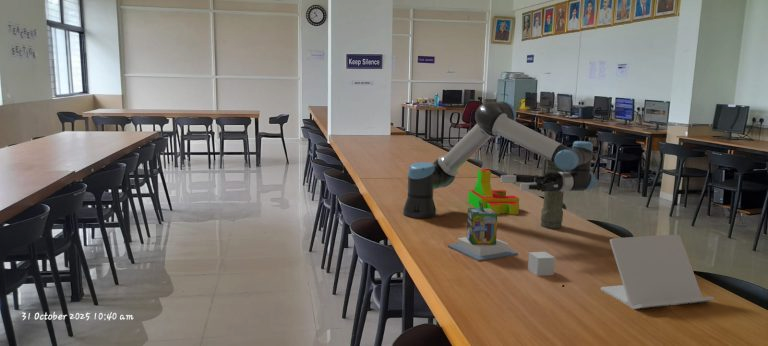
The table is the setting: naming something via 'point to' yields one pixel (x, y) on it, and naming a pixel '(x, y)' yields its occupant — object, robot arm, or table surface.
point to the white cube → (541, 263)
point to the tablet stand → (654, 272)
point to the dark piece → (552, 201)
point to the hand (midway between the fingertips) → (510, 182)
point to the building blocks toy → (492, 196)
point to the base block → (482, 247)
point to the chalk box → (482, 225)
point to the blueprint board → (481, 258)
